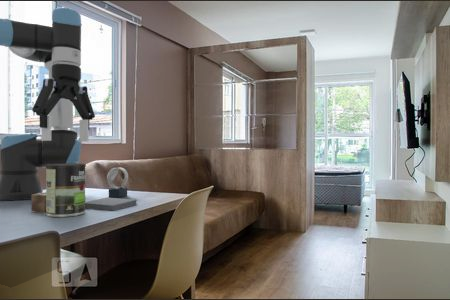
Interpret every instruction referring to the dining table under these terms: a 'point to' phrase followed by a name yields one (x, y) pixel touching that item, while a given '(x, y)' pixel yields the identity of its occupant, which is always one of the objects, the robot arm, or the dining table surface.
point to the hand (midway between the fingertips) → (66, 141)
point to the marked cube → (38, 202)
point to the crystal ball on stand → (115, 191)
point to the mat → (109, 203)
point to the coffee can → (65, 189)
